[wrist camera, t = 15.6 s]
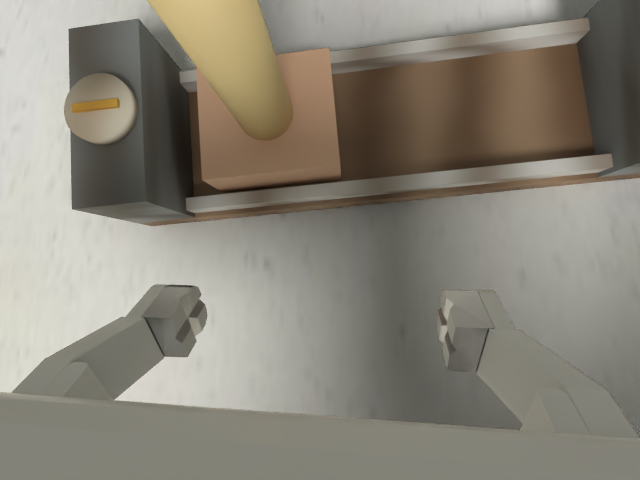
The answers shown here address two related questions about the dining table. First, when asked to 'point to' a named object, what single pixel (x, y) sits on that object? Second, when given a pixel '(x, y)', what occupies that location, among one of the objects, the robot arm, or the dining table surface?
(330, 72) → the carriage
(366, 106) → the rail track
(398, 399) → the dining table surface
